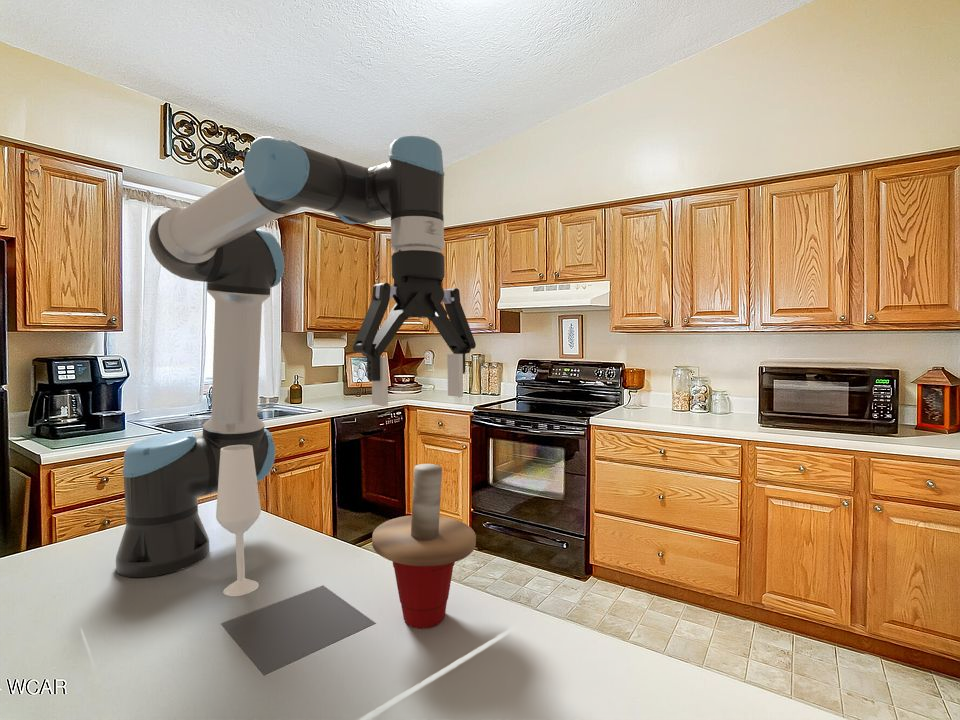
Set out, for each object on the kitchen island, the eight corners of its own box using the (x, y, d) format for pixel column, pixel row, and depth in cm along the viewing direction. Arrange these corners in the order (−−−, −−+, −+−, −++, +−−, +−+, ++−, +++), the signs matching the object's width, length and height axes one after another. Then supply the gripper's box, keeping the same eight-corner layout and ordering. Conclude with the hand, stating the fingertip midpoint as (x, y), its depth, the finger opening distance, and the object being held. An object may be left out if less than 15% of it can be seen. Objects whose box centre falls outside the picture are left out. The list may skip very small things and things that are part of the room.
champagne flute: (263, 577, 89) (259, 442, 88) (263, 595, 83) (258, 449, 82) (220, 585, 87) (215, 445, 86) (217, 604, 80) (211, 453, 79)
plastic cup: (436, 651, 68) (435, 563, 67) (373, 630, 73) (371, 548, 72) (475, 612, 78) (474, 534, 77) (416, 595, 83) (415, 522, 82)
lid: (352, 536, 75) (355, 463, 74) (432, 513, 85) (435, 449, 84) (413, 578, 64) (418, 492, 63) (496, 545, 75) (501, 472, 74)
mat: (220, 626, 74) (220, 623, 74) (323, 588, 85) (323, 585, 85) (264, 678, 63) (264, 674, 63) (375, 626, 74) (375, 623, 74)
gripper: (354, 237, 62) (357, 412, 63) (497, 258, 79) (498, 394, 80) (324, 245, 67) (328, 406, 68) (464, 263, 84) (466, 391, 85)
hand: (420, 400), depth 74 cm, fingers open, 13 cm apart
